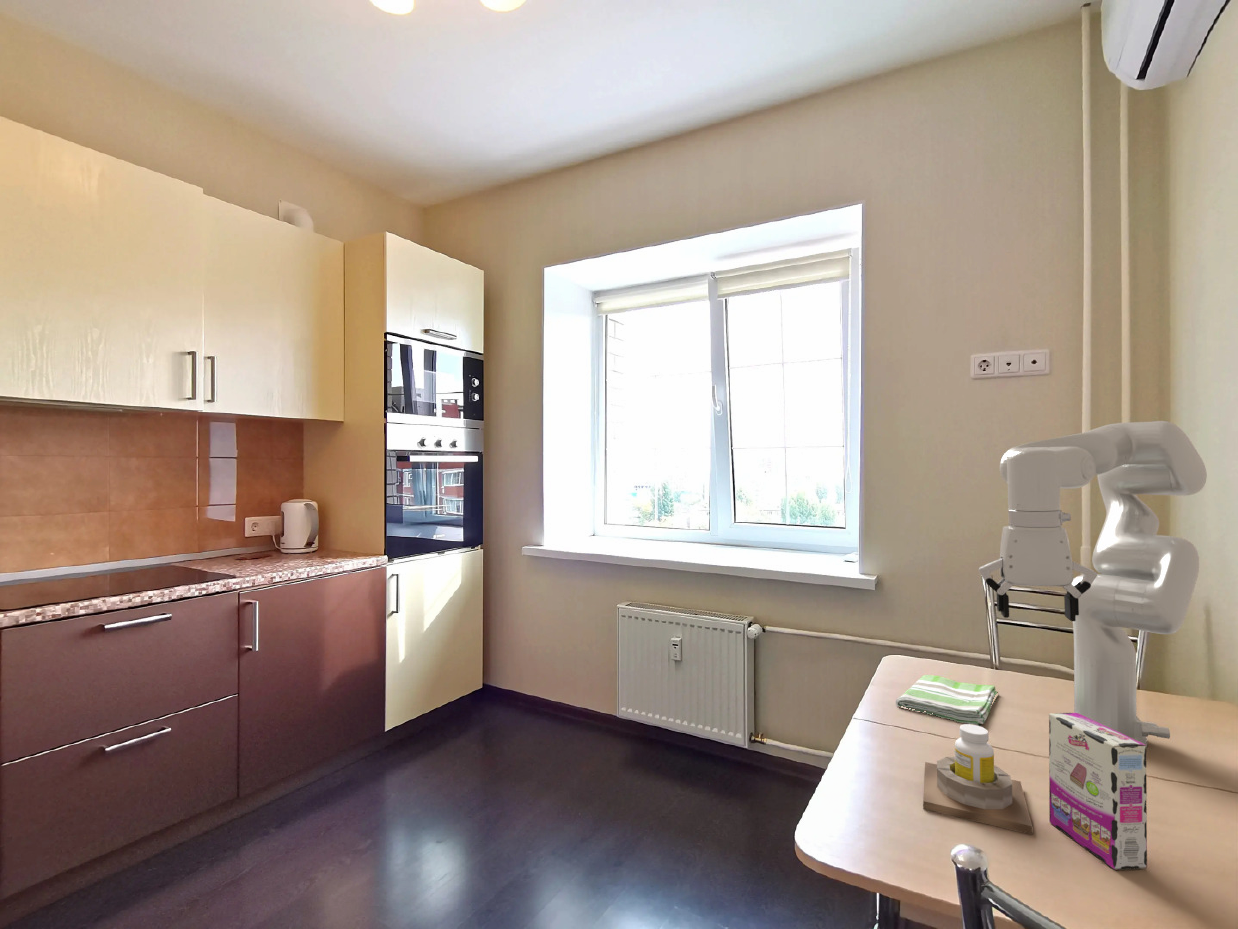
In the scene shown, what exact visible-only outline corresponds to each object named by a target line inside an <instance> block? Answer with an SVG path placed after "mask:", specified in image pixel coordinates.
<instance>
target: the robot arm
mask: <svg viewBox="0 0 1238 929" xmlns="http://www.w3.org/2000/svg"><path fill="white" fill-rule="evenodd" d="M999 473H1000V477H1001V478H1002V480H1003V481H1004V482H1005V483H1006V484H1007V506H1008V507H1007V508H1008V509H1007V510H1008V514H1007V515H1008V525H1007V526H1006V525H1005V526H1003V527H1002V532H1001V537H1000V549H999V558H998V559H996V560H994V561H991V562H989V563H986V564H984V565H982V566H979V567H978V569H977V571H978V572H979V575H981V577H982V579H983V581H984V582H985V584H987V585H988V586H989V587H990V588H991V589H992V590H994V592H995V593H996V609H997V612H1000V615H1002V617H1003V618H1006V619H1008V618H1010V597H1009V595H1008V594H1007V592H1008V591H1009V590H1010V589H1011V588H1012V587H1013V586H1015V585H1016V586H1029V587H1031V586H1032V587H1033V586H1035V587H1036V586H1037V587H1062V588H1063V589H1064V590H1065V591H1066V593H1065V595H1064V596H1063V599H1064V617H1065V618H1067V620H1069V621H1071V622H1072V630H1073V631H1072V632H1073V675H1074V678H1073V680H1074V682H1073V683H1074V684H1073V685H1074V686H1073V687H1074V688H1073V690H1074V691H1073V692H1074V693H1073V695H1074V699H1073V700H1074V709H1073V710H1074V712H1073V713H1079V714H1081V715H1083V716H1085V717H1087V718H1090V719H1092V720H1094V721H1096V722H1098V723H1100V724H1102V725H1105V726H1107V727H1109V728H1111V729H1113V730H1115V731H1117V732H1120V733H1122V734H1124V735H1126V736H1128V737H1130V738H1132V739H1134V740H1136V741H1139V742H1141V743H1143V744H1145V745H1147V746H1148V737H1149V736H1154V737H1157V738H1163V739H1170V738H1171V732H1170V729H1169V727H1165V726H1157V723H1156V722H1149V721H1142V720H1141V719H1140V718H1139V717H1138V716H1137V652H1136V648H1135V646H1134V643H1133V641H1132V640H1131V639H1130V637H1129V635H1128V634H1127V633H1126V631H1124V629H1131V630H1136V631H1141V632H1146V633H1147V632H1148V633H1152V634H1153V633H1154V634H1160V635H1171V634H1175V633H1177V632H1178V631H1179V630H1180V629H1181V628H1182V626H1183V624H1184V622H1185V619H1186V618H1187V613H1188V610H1189V606H1190V604H1191V601H1192V597H1193V593H1194V591H1195V588H1196V584H1197V581H1198V577H1199V576H1198V575H1199V571H1200V557H1199V553H1198V552H1199V551H1197V548H1196V546H1195V545H1194V544H1193V542H1192V543H1191V541H1189V540H1188V539H1185V538H1182V537H1179V536H1172V535H1160V534H1158V531H1159V527H1160V520H1159V518H1158V516H1157V514H1156V513H1155V512H1154V511H1153V509H1151V508H1150V506H1149V505H1147V504H1146V503H1145V502H1144V501H1142V500H1141V499H1140V497H1138V495H1152V496H1176V497H1177V496H1180V497H1181V496H1183V497H1185V496H1191V495H1195V494H1198V493H1199V492H1201V491H1202V490H1203V489H1204V487H1205V484H1207V478H1208V476H1207V469H1206V465H1205V463H1204V461H1203V458H1202V457H1201V455H1200V454H1199V452H1198V450H1197V449H1196V447H1195V446H1194V444H1193V442H1192V441H1191V440H1190V438H1189V436H1188V435H1187V433H1185V431H1184V430H1183V429H1181V427H1180V426H1178V425H1176V424H1175V423H1173V422H1171V421H1166V420H1156V421H1155V420H1153V421H1136V422H1118V423H1117V422H1116V423H1110V424H1106V425H1102V426H1099V427H1096V428H1092V429H1090V430H1087V431H1083V432H1079V433H1074V434H1070V435H1063V436H1059V437H1054V438H1049V439H1048V438H1047V439H1043V440H1035V441H1031V442H1027V443H1023V444H1018V445H1017V446H1014V447H1011V448H1009V449H1008V450H1007V451H1006V452H1004V454H1003V455H1002V457H1001V459H1000V462H999ZM1095 476H1097V482H1098V486H1099V487H1098V488H1099V491H1100V494H1101V498H1102V501H1103V504H1104V507H1105V511H1106V516H1105V520H1104V523H1103V525H1102V528H1101V530H1100V532H1099V536H1098V538H1097V540H1096V543H1095V546H1094V549H1093V553H1092V559H1091V562H1092V565H1093V568H1094V569H1095V571H1094V570H1093V569H1091V568H1089V567H1086V566H1084V565H1081V564H1079V563H1077V562H1075V561H1073V558H1072V552H1071V546H1070V541H1069V536H1068V533H1067V529H1066V528H1065V527H1062V526H1063V523H1065V522H1071V520H1072V515H1071V513H1070V512H1068V513H1065V512H1063V511H1062V510H1061V489H1065V490H1066V489H1067V490H1068V489H1069V490H1070V489H1072V490H1074V489H1080V488H1083V487H1085V486H1087V485H1088V484H1089V483H1091V482H1092V481H1093V480H1094V478H1095ZM997 570H999V576H1000V577H1001V579H999V581H998V582H996V581H995V579H993V578H992V576H991V572H992V573H993V572H994V571H997ZM1074 571H1076V572H1077V573H1080V574H1081V575H1077V576H1076V577H1074Z"/></svg>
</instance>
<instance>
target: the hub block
mask: <svg viewBox="0 0 1238 929" xmlns="http://www.w3.org/2000/svg"><path fill="white" fill-rule="evenodd" d="M923 775H924V776H923V778H924V779H923V802H922V803H923V804H922V805H923V806H922V807H923V808H922V809H923V810H926V811H930V812H935V813H938V814H939V813H940V814H944V815H948V816H951V817H952V816H953V817H955V818H961V819H965V820H968V821H969V820H970V821H972V822H973V821H974V822H976V823H977V822H978V823H981V824H986V825H991V826H995V827H998V828H1003V829H1007V830H1011V831H1015V832H1019V833H1023V834H1024V833H1025V834H1027V835H1033V825H1032V821H1031V817H1030V813H1029V808H1028V804H1027V801H1026V798H1025V794H1024V790H1023V787H1022V781H1019V780H1015V779H1012V778H1011V775H1010V774H1008V773H1007V772H1006V771H1005V770H1003V769H1002V768H1001V767H999V766H997V765H994V782H993V783H978V782H974V781H969V780H966V779H964V778H961V777H959V776H957V775H955V756H944V757H943V758H941V759H939V760H937V761H936V763H933V762H927V761H924V774H923Z"/></svg>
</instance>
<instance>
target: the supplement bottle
mask: <svg viewBox="0 0 1238 929" xmlns="http://www.w3.org/2000/svg"><path fill="white" fill-rule="evenodd" d="M954 757H955V775H957V776H959V777H961V778H964V779H966V780H969V781H974V782H978V783H993V782H994V766H995V752H994V748H993V746H992V745H991V744H990V743H989V731H988V730H987V729H986V728H984V727H983V726H977V725H971V724H967V723H963V724H961V725H960V726H959V737H958V738H957V739H956V740H955V742H954Z"/></svg>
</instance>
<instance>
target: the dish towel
mask: <svg viewBox="0 0 1238 929" xmlns="http://www.w3.org/2000/svg"><path fill="white" fill-rule="evenodd" d="M997 693H998V694H999V691H996V686H995V685H991V684H976V683H969V682H959V681H956V680H954V679H950V678H947V677H943V676H939V675H932V674H925V675H921V676H920V678H918V680H917V681H916V682H914V683H913V684H912V686H910V687H909V688H908V689H907V690H905V692H904V693H903V694H902V695H900V696H898V698H896V699H895V705H896V706H897V707H898V706H899V707H901V706H903V707H906V708H908V709H909V708H911V709H910V710H912V709H915V710H913V711H920V712H924V711H926V712H924V713H927V714H926V715H928V714H931V715H936V716H938V718H940V717H941V718H940V719H944V718H947V719H946V720H949V719H950V720H951V721H953V720H954V721H953V722H956V721H957V723H961V724H962V723H963V724H973V725H977V726H980V725H983V724H984V723H985V722H986V720H988V719H987V718H988V716H989V714H990V712H991V708H992V707H991V705H992V702H993V699H994V697H995V695H996V694H997ZM899 707H898V708H899ZM913 711H912V712H913ZM932 713H933V714H932ZM931 715H930V716H931ZM936 716H935V717H936ZM980 727H981V726H980Z"/></svg>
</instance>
